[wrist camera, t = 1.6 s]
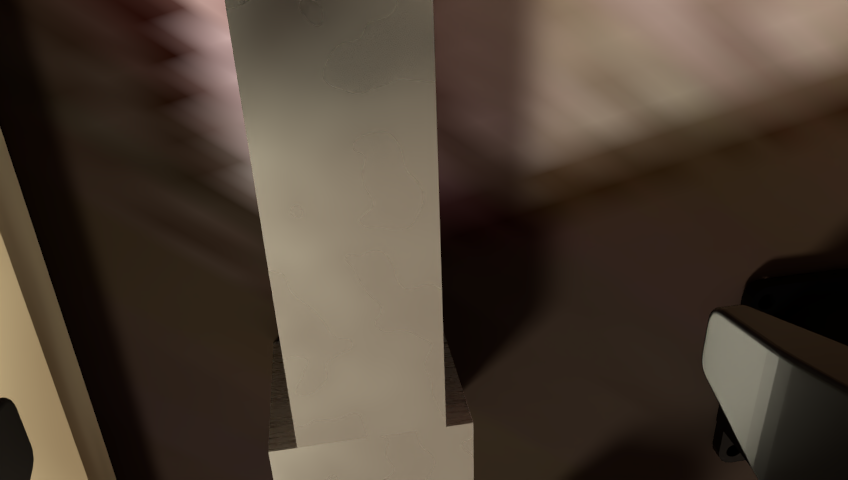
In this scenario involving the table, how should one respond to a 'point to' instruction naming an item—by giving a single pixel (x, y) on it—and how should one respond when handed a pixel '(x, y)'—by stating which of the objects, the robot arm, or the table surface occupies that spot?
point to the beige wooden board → (41, 352)
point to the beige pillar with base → (351, 238)
